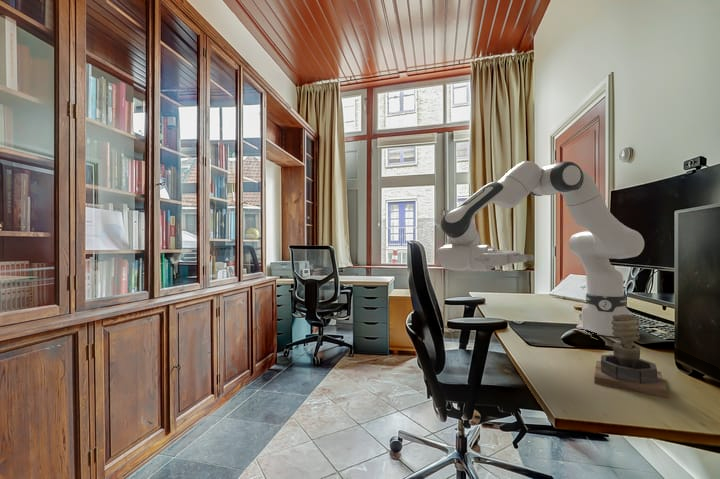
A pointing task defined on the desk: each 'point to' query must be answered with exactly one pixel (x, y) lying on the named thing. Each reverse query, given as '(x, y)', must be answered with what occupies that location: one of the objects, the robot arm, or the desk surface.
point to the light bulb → (626, 339)
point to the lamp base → (630, 376)
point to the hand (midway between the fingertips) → (529, 258)
